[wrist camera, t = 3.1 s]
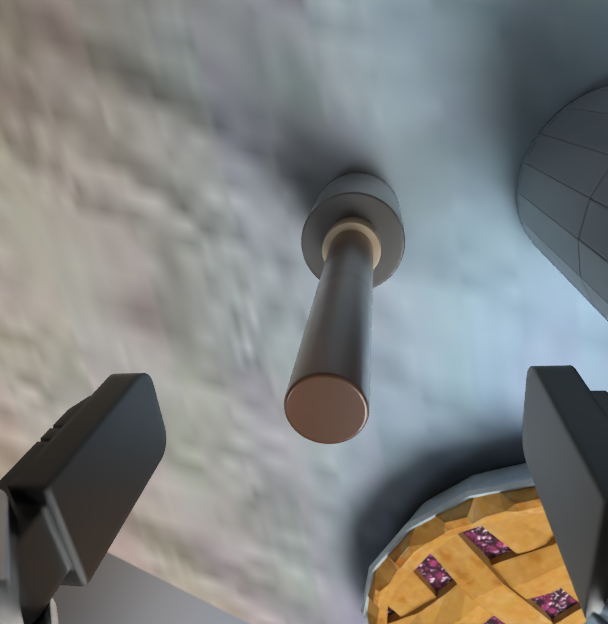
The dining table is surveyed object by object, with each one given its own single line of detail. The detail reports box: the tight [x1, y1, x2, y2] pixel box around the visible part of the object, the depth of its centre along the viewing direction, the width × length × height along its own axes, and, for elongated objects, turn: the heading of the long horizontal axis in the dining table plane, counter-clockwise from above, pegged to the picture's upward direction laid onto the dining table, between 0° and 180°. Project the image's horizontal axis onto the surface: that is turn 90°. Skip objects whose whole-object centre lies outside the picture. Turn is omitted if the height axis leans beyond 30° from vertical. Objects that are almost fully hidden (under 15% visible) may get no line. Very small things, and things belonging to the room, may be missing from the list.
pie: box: [361, 463, 587, 624], centre depth 32 cm, size 22×22×5 cm
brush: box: [284, 173, 405, 444], centre depth 18 cm, size 4×4×17 cm
